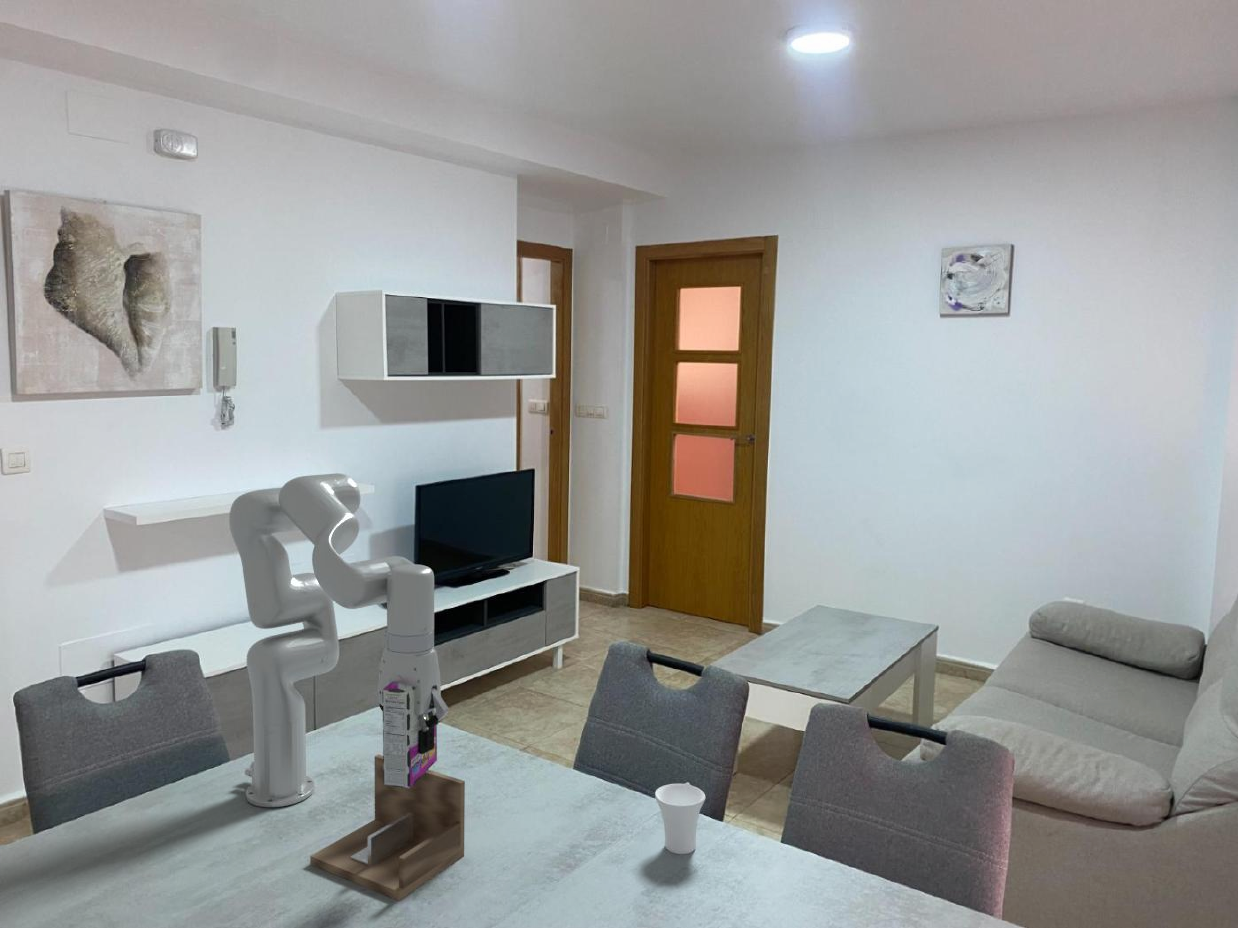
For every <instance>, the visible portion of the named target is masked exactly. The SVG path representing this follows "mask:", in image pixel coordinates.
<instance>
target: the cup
mask: <svg viewBox="0 0 1238 928" xmlns="http://www.w3.org/2000/svg"><path fill="white" fill-rule="evenodd" d="M654 797H655V801H656V803H657V804H658V807H659V810H660V812H661V817H662V818H661V819H662V820H663V827H664V828H663V829H664V846H665V848H666V849H667V850H668V851H669V852H671V853H673V854H675V855H676V854H677V855H688V854H692V853H693V852H694V850H696V847H697V840H696V839H697V826H698V820H699V817H700V812H701V809H702V807H703V805H704V803H705V800H706V795H705V792H704V791H703V790H701V789H700V788H699V787H696V786H694V785H691V784H690V782H686V783H670V784H666V785H662V786H660V787H658V788H657V789H656V790H655V793H654Z"/></svg>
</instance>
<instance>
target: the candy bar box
mask: <svg viewBox="0 0 1238 928" xmlns="http://www.w3.org/2000/svg"><path fill="white" fill-rule="evenodd" d="M382 695H383V696H382V698H383V711H382V741H383V742H382V747H383V748H382V749H383V750H382V751H383V752H382V756H383V775H384V777H383V778H384V785H386V786H392V787H402V788H411V787H412V786H413V785H414V784H415V783H416V782H417V780H418V779H419V778H420V777H421V776H422V775H423V774H424V773H425V772H426V771H427V770H430V768H431V767H432V766H433V765H434V764H435V763H436V762H437V761H438V756H437V755H438V746H437V745H438V744H437V743H438V737H437V735H438V734H437V733H438V732H437V731H438V729H437V728H438V727H437V726H438V725H437V726H435V727H434V748H433V749H432V750H430V751H428V752H426V753H424V754H419V752H418V732H419V730H421V725H420V722H419V716H416V715H415V688H414V687H412V686H408V685H405V684H401V683H397V682H391V683H390V684H389V685H387V686H386V687H385V688H383V689H382ZM434 711H435V713H436V708H434ZM425 715H426V719H427V720H429V717H428V714H427V713H426V714H425Z"/></svg>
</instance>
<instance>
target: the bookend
mask: <svg viewBox="0 0 1238 928" xmlns="http://www.w3.org/2000/svg"><path fill="white" fill-rule="evenodd" d="M412 841H413V813H410V812H409V813H407V814H406V815H404V816H402V817H400V818H399V819H397V820H395V821H394V822H392V823H390V824H389V825H387V826H385V827H383V828H382V829H380V830H378V831H377V832H375V833H373V834H371V835H370V836H368V847H366V848H364V849H363V850H361V851H359V852H358V853H356V854H354V855H352V856H351V857H350V859H353V860H355V861H358V862H360V863H363V864H365V865H368V866H371V867H372V866H373V865H375V864H376V863H378V862H380V861H381V860H383V859H384V858H386V857H388V856H389V855H391V854H392V853H394V852H396V851H397V850H399V849H400V848H402V847H404V846H405V845H407V844H408V843H410V842H412Z"/></svg>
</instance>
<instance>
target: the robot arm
mask: <svg viewBox="0 0 1238 928" xmlns="http://www.w3.org/2000/svg"><path fill="white" fill-rule="evenodd" d="M360 505H361V493H360V489H359V487H358V485H357V483H356V482H355V481H354V480H353V479H352V478H351V477H350V476H348V475H346V474H344V473H337V472H336V473H325V474H314V475H313V474H311V475H310V474H309V475H301V476H297V477H295V478H292V479H290V480H288V481H287V482H285V483H284V485H282V487H272V488H264V489H257V490H252V491H249V492H245V493H243V494H241V495H239V496H238V497H236V499H234V501H233V502H232V504H231V506H230V511H229V519H228V521H229V522H228V523H229V529H230V533H231V536H232V539H233V542H234V544H235V546H236V548H237V551H238V554H239V558H240V560H241V566H242V574H243V581H244V588H245V597H246V603H247V610H248V614H249V619H250V621H251V623H252V624H253V626H254V627H256V628H258V629H261V630H262V629H264V630H268V629H270V630H271V629H277V628H280V627H286V626H291V625H296V624H300V623H302V627H303V628H301V629H299V630H294V631H287V632H284V633H277V634H275V635H269V636H267V637H264V638H261V639H259V640H258V641H256V642H255V643H254V644H252V645H251V646H250V648H249V649H248V651H247V654H246V668H247V673H248V677H249V682H250V688H251V698H252V719H253V720H252V723H253V724H252V725H253V728H252V729H253V761H252V762H251V764H250V765H249V767H248V768H246V769H245V771H244V775H245V776H247V777H250V778H251V784H250V785H249V786H248V787H247V789H246V791H245V797H246V800H247V802H248V803H250V804H251V805H254V806H257V807H260V808H261V807H262V808H281V807H286V806H291V805H295V804H297V803H300V802H301V801H302V802H303V801H304V800H306V799H307V798H309V797H310V796H311V795H312V794H313V793H314V791H315V781H314V780H313V779H312V778H311V777H309V776H308V775H307V747H306V746H307V745H306V743H307V741H306V740H307V739H306V737H307V735H306V734H307V733H306V726H307V725H306V703H305V700H304V698H303V696H302V694H300V692H299V691H298V690H296V688H295V685H294V683H296V682H298V681H301V680H303V679H309V678H312V677H316V676H319V675H323V674H326V673H328V672H331V671H332V670H333V669H334V668H336V666H337V665H338V662H339V657H340V643H339V636H338V635H339V634H338V628H337V621H336V612H335V606H334V603H336V604H337V605H339V606H341V607H342V608H344V609H349V610H357V609H361V608H367V607H370V606H376V605H381V604H385V603H386V629H385V631H384V634H383V635H384V636H385V637H386V646H384V647H383V650H382V653H381V658H380V664H379V672H378V685H377V688H376V690H375V691H374V692H373V697H374V698H375V701H377V703H378V704H379V708H380V710H381V711H382V712H383V698H382V696H383V695H382V689H383V688H385V687H386V686H387V685H389V684H390V683H391V682H397V683H401V684H405V685H408V686H412V687H414V688H415V715H416V716H419V722H420V725H421V730H419V732H418V752H419V754H424V753H426V752H428V751H430V750H432V749H433V748H434V727H435V726H438V725H439V724H440V722H441V721H442V720H443V719H444V718H445V717H446V716H447V715H448V714H449V713H450V708H449V707H448V705H447V704H446V702H445V701H444V699H443V697H442V695H441V692H442V690H441V689H442V688H441V685H442V684H441V671H440V665H439V659H438V658H439V657H438V653H437V650H436V649H435V575H434V571H433V570H432V568H430V567H429V566H426V565H423V564H415V563H414V562H412V561H411V560H409V559H407V558H406V557H403V556H399V555H398V556H397V555H391V556H385V557H380V558H371V559H367V560H366V559H365V560H361V561H354V562H350V563H349V562H347V561H346V560H344V558H342V556H341V555H342V554H343V553H344V552H345V551H347V550H348V549H349V548H351V546H352V545H353V544H354V542H355V541H356V539H357V538H358V535H359V532H360V522H359V520H358V518H357V517H356V516H355V513H357V511H358V509H359V508H360ZM291 531H292V532H293V531H300V532H301V533H302V534H303V535H304V536H305V537H306V538H307V539H308V540H309V542H311V543H312V545H313V551H312V554H311V561H312V569H313V572H304V573H303V572H302V573H298V574H292V572H291V567H290V559H289V554H288V551H287V550H286V548H285V546H284V545H283V544H282V543H281V542H280V541H279V539H277V538H276V537H275V536H274V535H273V534H276V533H284V532H291ZM434 708H436V713H435V711H434ZM426 713H427V714H428V717H429V720H427V719H426V715H425V714H426Z"/></svg>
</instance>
